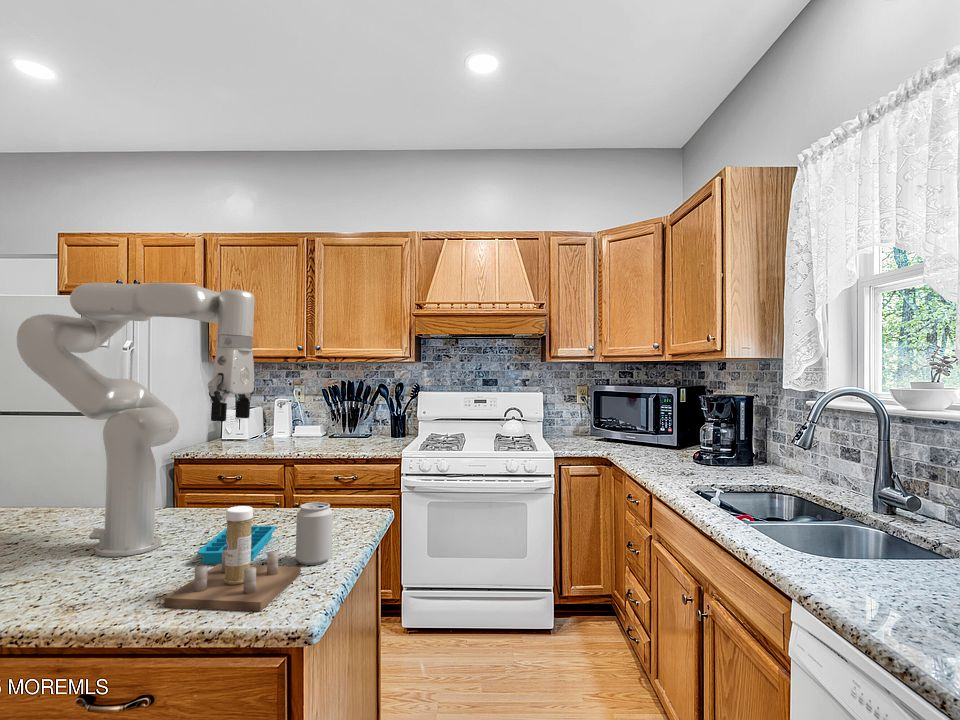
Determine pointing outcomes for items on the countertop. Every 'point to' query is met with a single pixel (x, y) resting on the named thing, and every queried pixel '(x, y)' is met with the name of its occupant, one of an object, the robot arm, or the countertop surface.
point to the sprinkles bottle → (238, 543)
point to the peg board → (234, 587)
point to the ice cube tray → (218, 544)
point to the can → (314, 533)
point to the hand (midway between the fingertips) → (230, 419)
